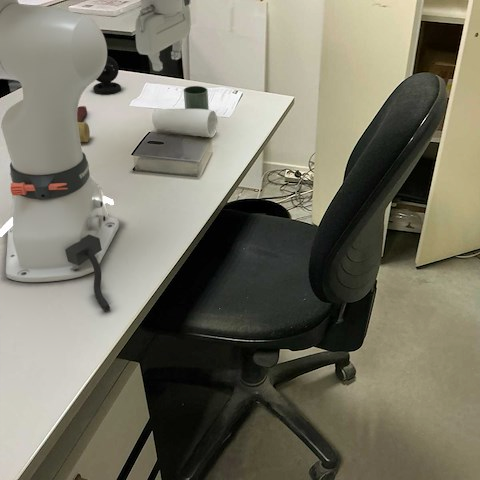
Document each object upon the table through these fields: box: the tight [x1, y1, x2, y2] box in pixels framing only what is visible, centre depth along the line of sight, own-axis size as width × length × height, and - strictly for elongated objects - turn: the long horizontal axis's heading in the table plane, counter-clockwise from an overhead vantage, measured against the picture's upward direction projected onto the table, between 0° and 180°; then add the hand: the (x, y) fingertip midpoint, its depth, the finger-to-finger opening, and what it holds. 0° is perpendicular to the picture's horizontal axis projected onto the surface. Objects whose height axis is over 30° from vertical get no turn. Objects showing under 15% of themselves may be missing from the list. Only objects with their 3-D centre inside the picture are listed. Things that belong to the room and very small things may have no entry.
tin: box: [183, 85, 210, 110], centre depth 144 cm, size 6×6×8 cm
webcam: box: [92, 55, 122, 95], centre depth 157 cm, size 8×8×10 cm
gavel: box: [77, 105, 91, 143], centre depth 137 cm, size 21×5×10 cm
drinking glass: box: [151, 107, 218, 138], centre depth 137 cm, size 7×7×15 cm
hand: (167, 64), depth 129 cm, fingers open, 8 cm apart
